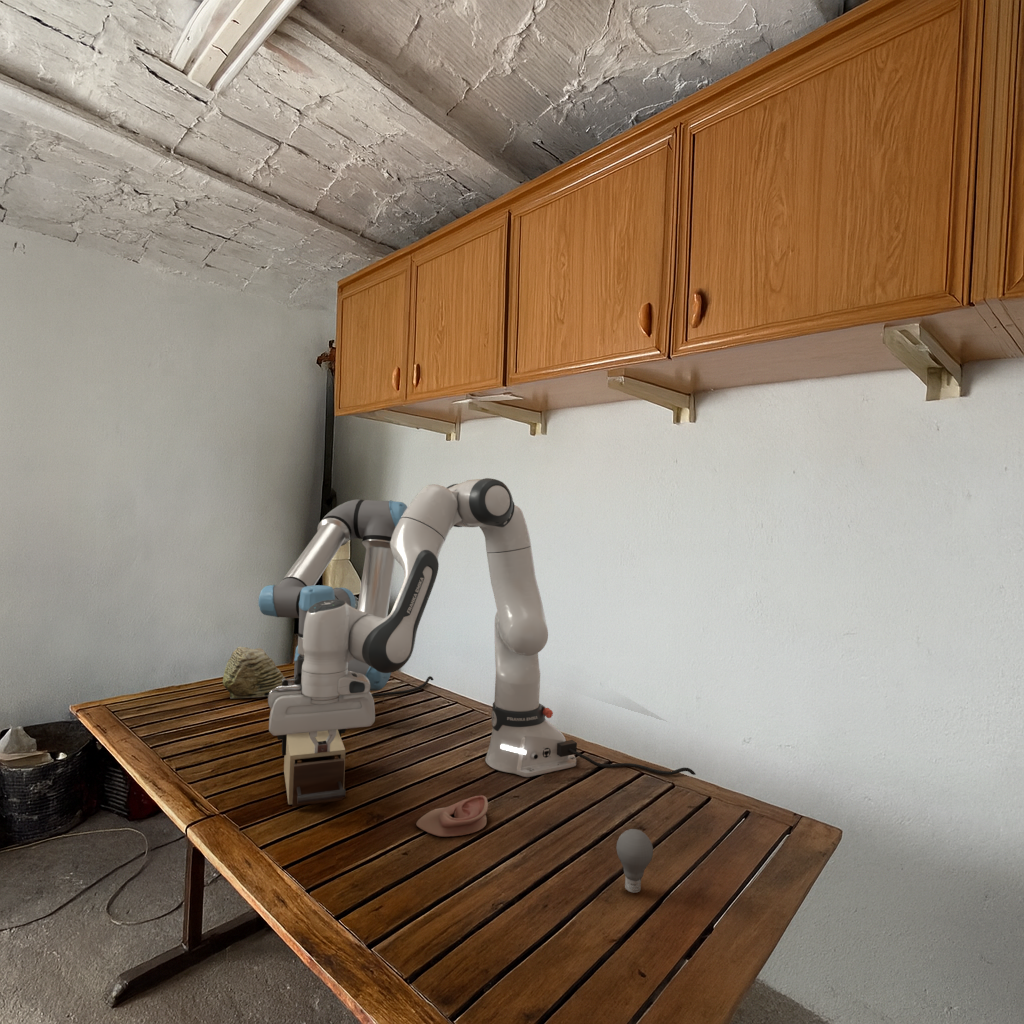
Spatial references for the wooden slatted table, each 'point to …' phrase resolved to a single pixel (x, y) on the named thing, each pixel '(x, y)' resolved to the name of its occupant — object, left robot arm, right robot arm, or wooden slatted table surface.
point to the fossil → (251, 674)
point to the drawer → (318, 780)
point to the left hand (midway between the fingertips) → (311, 750)
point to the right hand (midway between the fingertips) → (321, 751)
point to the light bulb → (634, 857)
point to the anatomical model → (456, 818)
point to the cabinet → (307, 753)
